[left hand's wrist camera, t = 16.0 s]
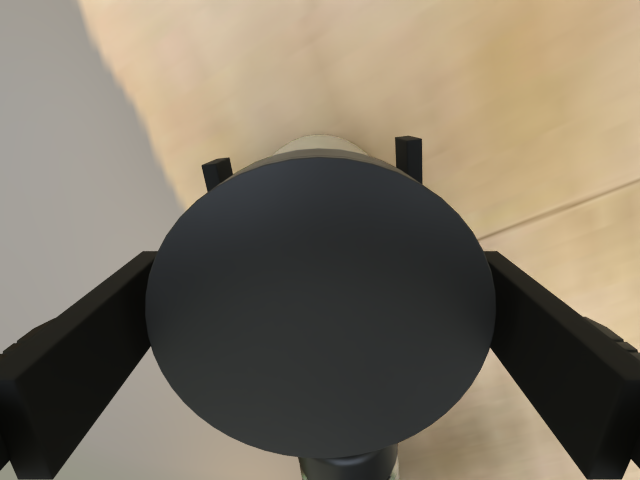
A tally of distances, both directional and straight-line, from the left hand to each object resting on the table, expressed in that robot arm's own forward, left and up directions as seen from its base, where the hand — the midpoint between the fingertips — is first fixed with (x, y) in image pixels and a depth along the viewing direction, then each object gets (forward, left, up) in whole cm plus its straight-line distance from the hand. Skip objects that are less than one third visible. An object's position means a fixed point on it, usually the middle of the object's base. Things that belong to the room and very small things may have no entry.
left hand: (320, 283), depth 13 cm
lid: (0, 0, +3) cm, 3 cm away
